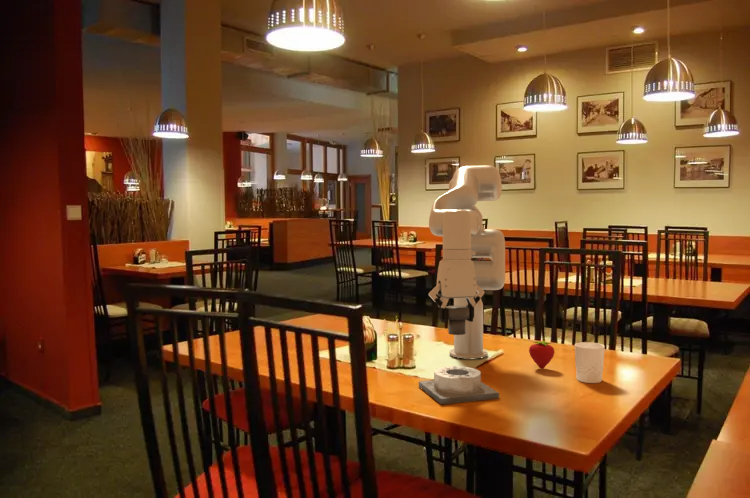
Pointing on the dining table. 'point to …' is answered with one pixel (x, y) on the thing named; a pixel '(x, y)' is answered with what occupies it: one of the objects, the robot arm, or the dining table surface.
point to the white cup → (589, 361)
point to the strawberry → (541, 353)
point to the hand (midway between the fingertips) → (456, 321)
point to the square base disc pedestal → (458, 386)
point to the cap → (457, 319)
